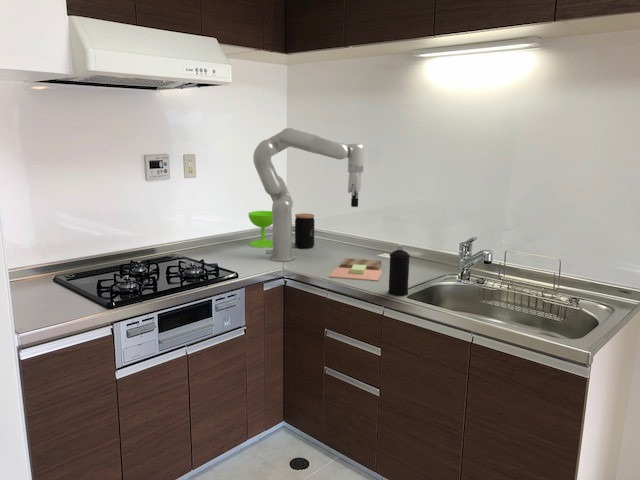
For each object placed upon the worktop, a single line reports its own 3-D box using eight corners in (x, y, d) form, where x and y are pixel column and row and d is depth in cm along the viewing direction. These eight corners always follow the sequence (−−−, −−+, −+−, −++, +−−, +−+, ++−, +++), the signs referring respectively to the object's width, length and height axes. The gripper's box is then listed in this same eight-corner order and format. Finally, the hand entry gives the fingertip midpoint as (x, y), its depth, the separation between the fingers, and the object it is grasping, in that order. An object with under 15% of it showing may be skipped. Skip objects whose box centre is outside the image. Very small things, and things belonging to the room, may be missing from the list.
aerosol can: (403, 297, 206) (405, 248, 202) (384, 293, 211) (386, 245, 206) (411, 292, 213) (413, 244, 209) (393, 288, 218) (394, 241, 213)
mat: (328, 277, 233) (329, 276, 232) (336, 268, 248) (336, 267, 248) (378, 281, 228) (378, 280, 227) (382, 271, 243) (382, 270, 243)
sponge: (350, 273, 237) (350, 269, 237) (353, 268, 246) (353, 264, 245) (363, 274, 236) (363, 270, 235) (366, 269, 244) (366, 265, 244)
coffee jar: (313, 249, 284) (314, 216, 281) (294, 249, 285) (294, 216, 281) (314, 244, 295) (314, 213, 291) (295, 244, 295) (295, 213, 291)
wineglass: (282, 243, 299) (281, 212, 295) (269, 249, 284) (269, 216, 280) (257, 240, 304) (256, 210, 300) (243, 246, 290) (243, 214, 286)
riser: (340, 268, 247) (340, 264, 247) (345, 262, 259) (345, 258, 258) (378, 271, 243) (378, 267, 243) (381, 264, 255) (381, 260, 254)
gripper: (350, 168, 262) (349, 204, 266) (345, 170, 248) (344, 208, 252) (365, 168, 260) (364, 204, 264) (360, 170, 246) (359, 209, 250)
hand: (354, 206), depth 258 cm, fingers closed
